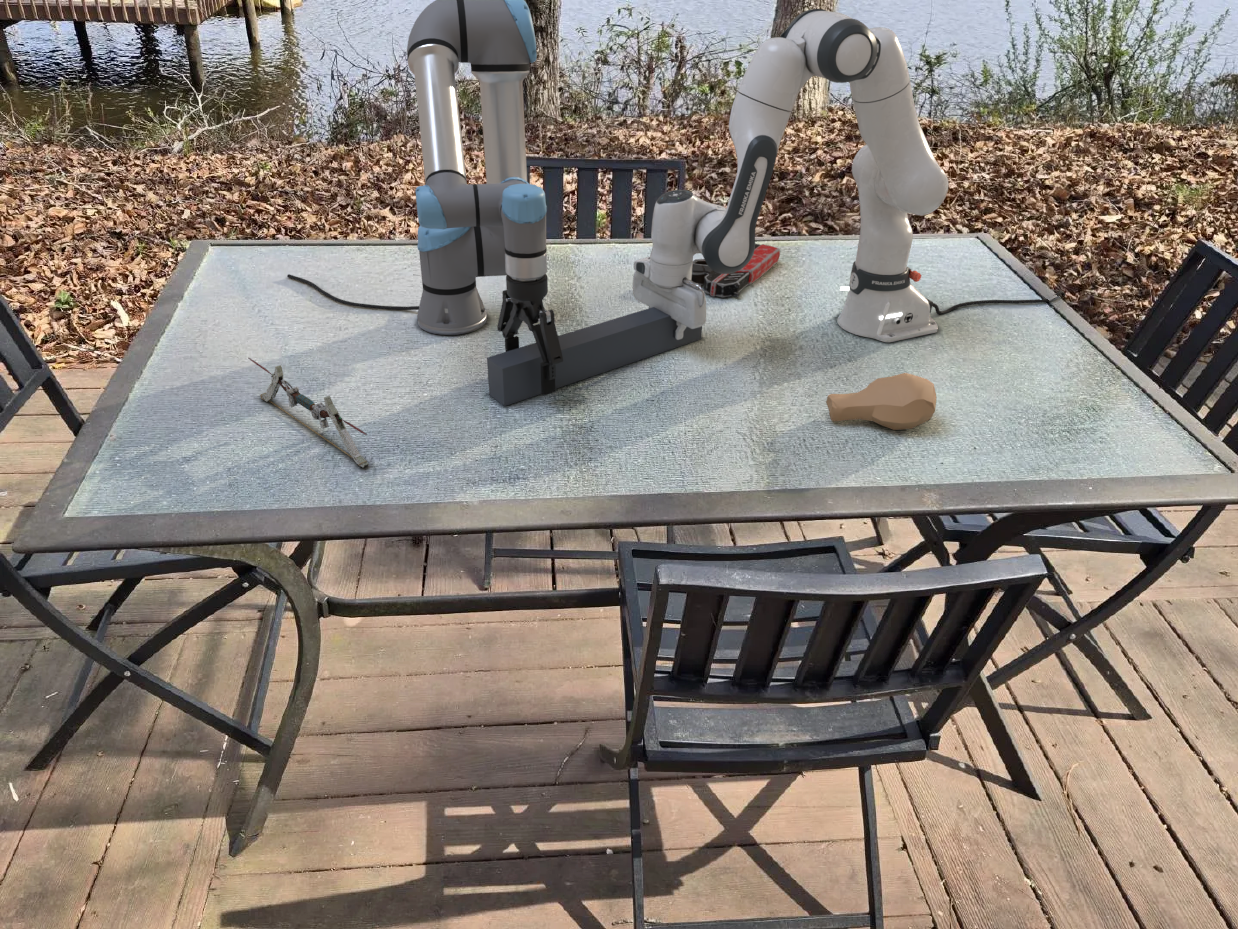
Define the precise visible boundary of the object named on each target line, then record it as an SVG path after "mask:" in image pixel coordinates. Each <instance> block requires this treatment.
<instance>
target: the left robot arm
mask: <svg viewBox="0 0 1238 929" xmlns="http://www.w3.org/2000/svg"><path fill="white" fill-rule="evenodd" d="M535 34H536V33H535V29H534V23H533V18H532V14H531V11H530V8H529V5H528V3H527V2H526V0H434V1H432V2H431V3H430V4H428V5H427V6H426V7H425V8H424V9H423V10H422V11H421V12H420V13H419V15H418V16H417V18H416V19H415V21H414V22H413V25H412V27H411V29H410V32H409V36H408V41H407V47H406V57H407V65H408V66H407V67H408V69H409V71H410V72H411V74H412V75H414V82H415V93H416V94H415V95H416V104H417V114H418V123H419V134H420V144H421V154H422V166H423V173H424V174H423V175H424V184H423V185H418V186H417V187H416V188H415V200H416V211H417V221H418V224H419V226H418V229H417V247H416V248H417V250H418V252H419V253H418V255H419V263H420V275H421V276H420V277H421V284H422V292H421V297H420V302H419V305H412V306H411V305H410V306H409V305H408V306H399V305H397V306H396V305H395V306H394V305H381V304H368V303H361V302H353V301H348V300H346V299H345V300H344V299H342V298H339V297H337V296H334V295H332V294H331V293H329V292H327V291H325V290H323V289H322V288H320V287H319V286H318V285H317V284H315V283H314V282H312V281H310V280H308V279H305V278H303V277H300V276H299V277H298V276H296V275H293V274H290V273H288V274H287V275H286V277H287V278H288V279H292V280H295V281H298V282H301V283H304V284H306V285H308V286H310V287H312V288H313V289H315V290H316V291H318V292H319V293H320V294H322V295H323V296H325V297H326V298H329V299H330V300H332V301H334V302H337V303H340V304H342V305H347V306H351V307H358V308H364V309H365V308H366V309H376V310H388V311H417V316H416V318H417V325H418V326H419V328H420V329H421V330H423V331H424V332H427V333H430V334H433V335H440V336H459V335H465V334H469V333H473V332H476V331H477V330H480V329H481V328H483V327H484V326H485V325H486V323H487V320H488V316H487V310H486V306H485V304H484V302H483V299H482V298H481V295H480V293H479V291H478V288H477V278H485V277H501V276H502V277H503V276H504V277H505V283H506V284H505V285H506V286H505V288H506V289H504V290H502V303H501V306H500V311H499V312H500V313H499V316H498V321H497V325H496V326H497V327H496V328H497V331H498V332H499V333H502V337H503V339H504V350H505V352H507V351H510V350H514V349H517V348H520V338H519V337H520V336H517V335H519V334H520V333H519V329H520V328H521V325H522V324H523V323H525V325H526V326H527V328H528V330H529V331H530V332H531V333H532V336H533V338H534V340H535V343H537V346H538V349H539V351H540V354H541V357H542V360H543V362H542V363H541V394H540V395H542V396H546V395H549V394H552V393H554V392H556V389H555V378H556V364H559V363H562V362H563V356H562V352H561V348H560V344H559V339H558V336H559V335H558V331H557V327H556V326H557V325H556V322H555V321H556V320H555V312H554V310H553V309H548V310H547V309H545V306H544V303H543V301H544V299H545V298H546V296H547V295H548V293H549V289H548V288H549V285H548V284H549V282H548V280H549V279H548V277H549V276H548V274H547V272H548V261H547V260H548V257H547V256H548V253H547V250H548V249H547V248H548V247H547V211H548V206H547V203H546V201H547V200H546V193H545V191H544V189H543V188H542V187H541V186H538V185H536V184H532V183H529V182H528V168H527V150H526V148H527V147H526V129H525V126H526V125H525V107H524V105H525V104H524V88H523V86H524V85H523V82H524V80H525V79H526V77H527V76H528V75H529V74H530V63H531V64H533V63H535V62H536V61H537V56H538V53H537V42H536V41H537V40H536V35H535ZM465 63H466V64H470V72H471V74H472V75H473V76H474V77H475V79H476V80H477V81H478V82H479V90H480V91H479V92H480V93H479V94H480V106H481V121H482V136H483V138H482V139H483V150H484V152H483V153H484V166H485V167H484V168H485V180H486V181H485V183H472V184H471V183H469V184H468V183H467V174H466V164H465V153H464V146H463V137H462V129H461V128H462V127H461V118H460V108H459V101H458V100H459V99H458V93H457V92H458V91H457V82H456V73H457V72H458V70H459V67H460V64H465ZM547 356H548V358H547Z"/></svg>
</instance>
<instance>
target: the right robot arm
mask: <svg viewBox="0 0 1238 929" xmlns="http://www.w3.org/2000/svg"><path fill="white" fill-rule="evenodd" d="M813 77H817V78H822V79H825V80H828V81H830V82H832V83H837V84H838V83H839V84H844V83H845V84H846V83H849V89H850V94H851V99H852V104H853V109H854V112H855V117H856V118H855V119H856V123H857V127H858V131H859V135H860V137H861V139H862V140H863V142H864V143H865V145H863V146H862V147H861V148H860V149H859V150H858V151H857V152H856V154H855V155H854V157H853V160H852V163H851V174H852V177H853V179H854V182H855V185H856V188H857V194H858V204H859V216H860V217H859V218H860V225H859V226H860V227H859V229H860V230H859V237H858V244H857V250H856V254H855V255H856V256H855V260H854V261H853V263H852V267H851V271H850V277H849V283H848V284H849V285H848V286H840V289H839V291H847V294H846V299H845V302H844V304H843V306H842V309H841V311H840V313H839V315H838V317H837V319H836V321H837V324H838V326H839V327H840V328H841V329H842V330H844V331H845V332H848V333H850V334H853V335H856V336H859V337H863V338H864V337H865V338H870V339H874V340H877V341H879V342H883V343H893V342H897V341H903V340H907V339H913V338H916V337H917V338H918V337H922V336H926V335H931V334H935V333H937V332H938V330H939V329H938V328H939V327H938V323H937V322H936V320H935V319H934V318H933V317H931V312H932V309H933V308H934V310H935V313H936V314H937V315H946V314H948V313H950V312H953V311H954V310H956V309H958V308H963V307H967V306H975V305H986V304H987V305H988V304H1009V305H1010V304H1017V305H1018V304H1041V303H1048V302H1050V301H1049V300H1048V299H1046V298H1042V299H1043V300H1040V299H1041V298H1039V299H985V300H971V301H966V302H961V303H957V304H954V305H953V306H951V307H949V308H947V309H946V310H940V307H939V305H938V304H937V303H935V302H933V301H932V300H931V299H928V298H927V297H925V295H924V294H922V293H921V292H920V290H918V289H917V287H915V286H914V285H913V284H912V283H911V280H912V281H913V282H914V283H919V282H920V280H922V274H921V273H920V272H918V271H917V270H912V269H911V268H910V267H909V266H908V263H909V258H910V255H911V250H912V244H913V240H914V231H913V228H912V225H911V223H910V220H909V215H908V214H910V215H915V216H926V215H929V214H932V213H933V212H934V211H936V210H937V209H938V208H939V207H941V205H942V204H943V202H944V201H945V199H946V197H947V194H948V191H949V178H948V176H947V174H946V173H945V171H944V170H943V169H942V168H941V166H940V165H939V163H938V161H937V160H936V158H935V156H934V154H933V152H932V149H931V147H930V145H929V143H928V140H927V138H926V135H925V134H924V131H923V129H922V126H921V124H920V120H919V118H918V114H917V109H916V105H915V100H914V94H913V88H912V83H911V78H910V72H909V68H908V64H907V60H906V57H905V53H904V50H903V48H902V45H901V43H900V41H899V38H898V36H897V34H896V33H895V32H894V31H893V30H892V29H890V28H887V27H881V26H878V27H877V26H876V27H872V28H869V27H868V26H867V25H866V24H864V22H862V21H861V20H859V19H856V18H853V17H851V16H849V15H847V14H844V13H842V12H838V11H829V10H826V9H822V8H812V9H807V10H804V11H802V12H801V13H799V14H798V15H796V16H795V17H794V18H793V19H792V21H791V22H790V23H789V24H788V26H787V27H786V29H785V30H784V31H783V32H782V33H781V34H780V36H777V37H776V36H775V37H770V38H767V39H765V40H764V41H762V43H761V44H760V45H759V46H758V48H757V50H756V51H755V53H754V54H753V56H752V58H751V60H750V62H749V63H748V66H747V68H746V70H745V72H744V74H743V77H742V78H741V81H740V84H739V86H738V88H737V92H736V94H735V97H734V99H733V103H732V106H731V110H730V116H729V121H728V131H729V135H730V138H731V141H732V144H733V146H734V150H735V151H734V152H735V155H736V160H737V169H736V176H735V180H734V182H733V186H732V189H731V193H730V196H729V199H728V202H727V205H726V206H723V205H720V204H718V203H717V204H716V203H712V202H709V201H705V200H704V199H702V198H700V197H698V196H697V195H695V194H694V192H692V191H690V190H687V189H673V190H669V191H666V192H664V193H662V194H661V195H660V196H658V198H657V199H656V200H655V204H654V207H653V212H652V220H651V228H650V229H651V230H650V232H651V233H650V238H651V243H652V248H651V250H650V254H649V256H646V257H643V258H639V259H637V260H634V261H633V270H634V272H633V276H632V295H633V298H634V299H635V301H637V302H639V303H641V304H643V305H645V306H647V307H648V309H649V308H652V307H655V308H657V309H659V310H660V311H662V312H664V313H666V314H668V315H670V316H671V318H672V319H674V320H676V321H677V324H676V325H678V327H677V329H676V330H673V337H674V338H675V339H677V340H679V339H682V338H683V332H684V330H685V329H686V327H689V328H691V329H695V328H698V327H701V326H702V327H703V326H704V325H705V324H706V322H707V299H706V292H705V291H704V288H702V285H699V284H698V283H694V282H693V281H691V278H692V265H693V261H694V256H695V255H697V254H701V255H702V257H703V259H705V261H706V263H707V265H708V266H709V267H710V268H711V269H712V270H713V271H715V272H717V273H721V274H730V273H734V272H737V271H739V270H741V269H742V268H743V267H745V266H746V265H747V264H748V263H749V261H750V260H751V258H752V256H753V254H754V250H755V244H756V227H757V223H758V219H759V217H760V213H761V210H762V207H763V204H764V201H765V197H766V195H767V191H768V188H769V185H770V182H771V179H772V175H773V173H774V168H775V164H776V160H777V158H778V157H777V156H778V152H779V149H780V145H781V142H782V139H783V136H784V133H785V130H786V128H787V125H788V122H789V120H790V117H791V115H792V112H793V110H794V108H795V105H796V103H797V102H796V101H797V100H798V96H799V93H800V92H801V90H802V89H803V87H804V86H805V85H806V83H807V82H809V80H811V79H812V78H813ZM1054 295H1057V296H1058V297H1059V296H1061V297H1066V293H1065V292H1064V291H1063V290H1059V291H1057V292H1056V293H1055V294H1054Z"/></svg>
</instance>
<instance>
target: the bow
mask: <svg viewBox="0 0 1238 929" xmlns="http://www.w3.org/2000/svg"><path fill="white" fill-rule="evenodd" d="M247 358H248V359H249V360H250V361H251V362H252V363H253V364H255V365H256V366H257V367H259V368H260V369H262V370H263V371H265V372H266V373H268V374H269V375H271V379H270V380H271V381H270V384H269V385H268V387H267V389H266V392H262V393H260V394H259V397H260V399H261V400H262V401H264V402H269V403H271V404H272V405H274V406H276V407H277V408H278V409H280V410H281V411H283V412H284V413H286V414H287V415H288V416H290V417H291V418H293V419H294V420H296V421H297V422H298V423H300V424H302V425H303V426H305V427H306V428H308V429H309V430H311V431H312V432H313V433H315V434H316V435H318V436H319V437H320V438H323V440H324V441H327V442H328V443H330V444H331V445H332V446H334V447H335V448H337V449H338V450H339V451H341V452H343V453H344V454H345V455H347V456H348V457H350V458H351V459H353V461H354V462H355V463H356V465H357V466H359V467H360V468H365V466H370V463H369V462H368V460H366V459H365V458H364V457H363V456H362V454H361V453H360V451H359V449H358V448H357V445H356V444H355V441H354V440H353V438H352V436H351V435H350V433H349V431H348V430H347V426H346V425H348V426H350V427H351V428H353V429H354V430H356V431H357V432H359V433H361V434H363V435H365V436H368V433H366V432H365V431H363V430H362V429H360V428H359V427H357V426H356V425H354V424H352V423H350V422H349V421H347V420H344V419H343V417H342V416H341V414H340V413H339V411H338V409H337V408H336V406H335V404H334V402H333V400H332V397H331V396H330V395H327V396H324V397H323V402H324V403H323V402H322V401H321V402H318V403H316V404H315V402H314V401H313V400H312V399H311V398H309V397H307V395H304V394H301V392H300V389H299V386H293V385H292V384H290V383H289V381H287V380H285V379H284V372H283V367H282V365H281V364H279V365H276V366H275V367H274V372H273V373H271V372H270V371H269V370H268V369H267V368H265V367H264V366H263V365H262V364H260V363H259V362H257V361H256V360H254V359H252V358H251V357H249V356H248V357H247ZM280 387H281V388H282V389H283V390H284V392H285V393H286V396H287V398H288V406H289V407H290V408H291V409H293V408H294V407H298V405H300V406H301V407H303V408H305V409H306V410H307V411H309V412H311V416H312V418H313V419H314V420H317V421H319V425H320V428H321V429H322V430H324V429H326V428H329V427H330V426H329V422H328V420H327V418H330V420H331V421H332V423H333V425H334V427H335V429H336V431H337V432H338V435H339V437H340V439H341V441H342V443H343V444H344V445H345V447H346V448H345V449H347V452H346V451H345V450H344V449H342V448H340V447H339V446H338V445H336V444H335V443H333V442H332V441H330V440H328V439H327V438H326V437H324V436H323V435H321V434H320V433H319V432H317V431H316V430H314V429H312V428H311V427H310V426H308V425H307V424H305V423H304V422H302V421H301V420H299V419H297V417H295V416H293V414H291V413H289V412H288V411H286V410H285V409H283V408H282V407H281V406H279V405H278V404H276V403H274V402H273V401H272V400H274V399H275V398H276V396H277V394H278V392H279V390H280ZM344 423H345V424H346V425H345V424H344Z"/></svg>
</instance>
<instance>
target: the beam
mask: <svg viewBox="0 0 1238 929" xmlns="http://www.w3.org/2000/svg"><path fill="white" fill-rule="evenodd" d="M676 324H677V321H676V320H674V319H672V318H671V316H670V315H668V314H666V313H664V312H662V311H660V310H659V309H657V308H655V307H652V308H649V307H648V308H646V309H642V310H639V311H635V312H632V313H629V314H626V315H622V316H620V317H619V316H618V317H615V318H613V319H610V320H606V321H602V322H600V323H596V324H593V325H589V326H585V327H583V328H580V329H577V330H574V331H573V330H572V331H570V332H567V333H562V334H560V335H558V339H559V344H560V348H561V352H562V356H563V362H562V363H559V364H556V378H555V390H556V389H559V388H562V387H563V388H564V387H565V386H569V385H571V384H574V383H577V382H580V381H582V380H586V379H589V378H591V377H594V376H598V375H600V374H603V373H607V372H609V371H613V370H615V369H618V368H621V367H624V366H626V365H629V364H633V363H635V362H638V361H641V360H644V359H647V358H650V357H653V356H656V355H659V354H663V353H665V352H667V351H671V350H674V349H677V348H679V347H682V346H685V345H689V344H692V343H694V342H697V341H700V340H702V334H703V326H701V327H698V328H695V329H691V328H689V327H686V329H685V330H684V332H683V338H682V339H679V340H677V339H675V338H674V337H673V330H676V329H677V327H678V325H676ZM547 358H548V356H547ZM486 362H487V363H486V366H487V380H488V395H489V396H490V397H492V398H493V399H494V400H496V401H497V402H498V403H500V404H501V405H502V406H504V407H507V406H509V405H513V404H515V403H518V402H521V401H525V400H527V399H530V398H533V397H536V396H540V395H542V394H541V363H542V362H543V360H542V357H541V354H540V351H539V349H538V346H537V343H536V342H534V343H530V344H527V345H524V346H519V348H517V349H514V350H510V351H507V352H506V351H503V352H501V353H497V354H494V355H491V356H488V357H486Z"/></svg>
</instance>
